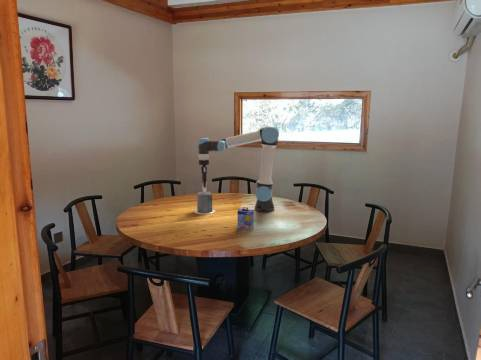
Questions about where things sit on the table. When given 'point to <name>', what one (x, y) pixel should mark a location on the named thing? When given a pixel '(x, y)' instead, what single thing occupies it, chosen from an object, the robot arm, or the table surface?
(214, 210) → the trivet
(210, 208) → the grey piece
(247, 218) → the ink cartridge box
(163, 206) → the table surface
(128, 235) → the table surface
